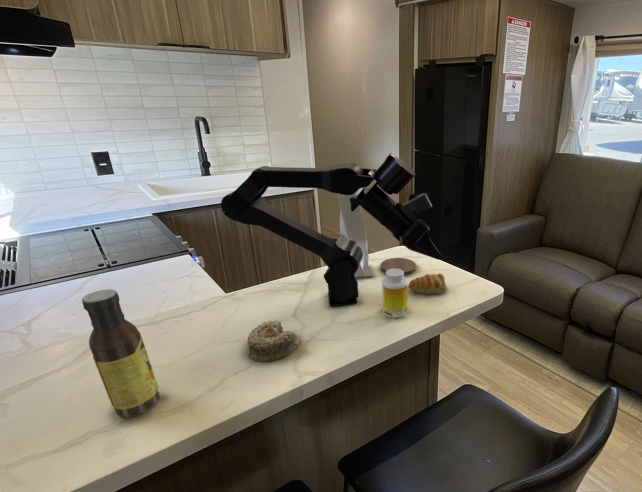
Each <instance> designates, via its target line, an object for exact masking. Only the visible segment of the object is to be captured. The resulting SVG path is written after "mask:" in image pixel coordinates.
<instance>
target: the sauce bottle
mask: <svg viewBox="0 0 642 492" xmlns="http://www.w3.org/2000/svg"><path fill="white" fill-rule="evenodd" d="M81 303H82V306H83V309H84V310H85V311H87V314H88V317H89V319H90V325H91V326H92V328H93V329H92V331H91V333H90V335H89V340H88V346H89V349H90V352H91V354H92V359H93V361H94V362H93V363H94V364H95V367H96V369H97V372H98V374H99V377H100V380H101V382H102V385H103V388H104V389H105V392H106V394H107V397H108V399H109V403H110V405H111V406H112V407H113V410H114V412H115V413H116V415H118V417H120V418H133V417H137V416H139V415H142V414H144V413H146V412H148V411H150V409H152V408H153V407H154V406H156V405H157V403H158V402H159V400H160V392H159V385H158V381H157V378H156V376H155V372H154V370H153V366H152V363H151V360H150V357H149V354H148V351H147V348H146V345H145V343H144V340H143V337H142V334H141V332H140V331H139V329H138V328H137V326H136V325H134V323H132V322H130V321H128V320H127V319H126V318H125V314H124V312H123V310H122V307H121V304H120V295H119V293H118V292H117V290H115V289H110V288H109V289H100V290H96V291H92V292H90V293H88V294H86V295H84V296H83V297H82V299H81Z"/></svg>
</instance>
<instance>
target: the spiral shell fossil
mask: <svg viewBox="0 0 642 492" xmlns="http://www.w3.org/2000/svg"><path fill="white" fill-rule="evenodd" d="M246 343H247V348H246V355H247V357H248V358H249V359H250V360H253V361H257V362H272V361H277V360H279V359H281V358H284V357H287V356H288V355H290V354H292V352H294V351H295V350H296V349H297V348H298V346H299V344H300V337H299V335H298V334H297V333H294V332H292V331H288V330H284V327H283V326H282V322H281V320H273V321H272V320H268V321H267V322H266V321H264V322H262V323H261V324H258V325H257V326H256V327H254V328H253V329H251V332H249V334H248V337H247V341H246Z"/></svg>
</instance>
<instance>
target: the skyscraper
mask: <svg viewBox="0 0 642 492" xmlns="http://www.w3.org/2000/svg"><path fill="white" fill-rule="evenodd" d="M362 189H363V188H359V190H358V191H357V192H356V193H354V194H352V195H342V194H337V193H336V195H337V200H338V205H339V209H340V213H339V236H340V235H343V236H345V237H346V238H348V239H349V240H352V241H356V245H358V246H359V247H360V248H361V250H362V253H363V258H362V261H361V263H360V265H359V267H358V270H357V271H356V273H355V274H354V276H355V278H356V279H357V280H359V279H360V280H361V279H369V278H373V277H374V275H373V273H372V270H371V268H370V266H369V262H370V261H369V258H370V257H369V253H368V251H369V250H368V247H369V246H368V240H367V231H366V223H365V218H364V212H363V208H362V207H361V206H360V205H359V206H358V207H357V208H356V209H355V210H354V211H353V212H352V211H351V203H350V200H349V199H350V198H351V197H352V196H357V195H358V194H359V193H360V192H361V191H362Z"/></svg>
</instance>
